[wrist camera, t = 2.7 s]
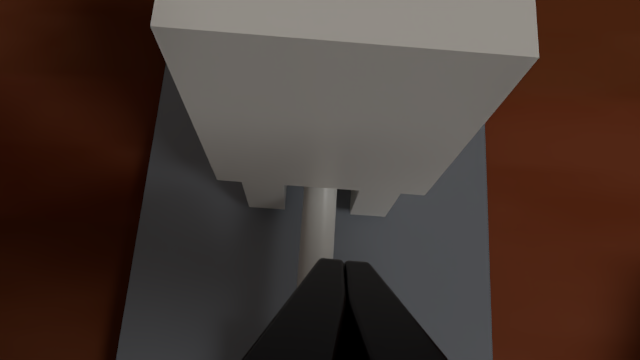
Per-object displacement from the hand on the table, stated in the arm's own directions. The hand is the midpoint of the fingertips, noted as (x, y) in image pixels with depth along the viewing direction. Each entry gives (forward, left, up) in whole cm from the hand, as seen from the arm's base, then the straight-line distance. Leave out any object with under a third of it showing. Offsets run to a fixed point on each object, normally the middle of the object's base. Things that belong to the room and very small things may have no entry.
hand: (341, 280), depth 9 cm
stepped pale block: (+5, 0, -8) cm, 10 cm away
